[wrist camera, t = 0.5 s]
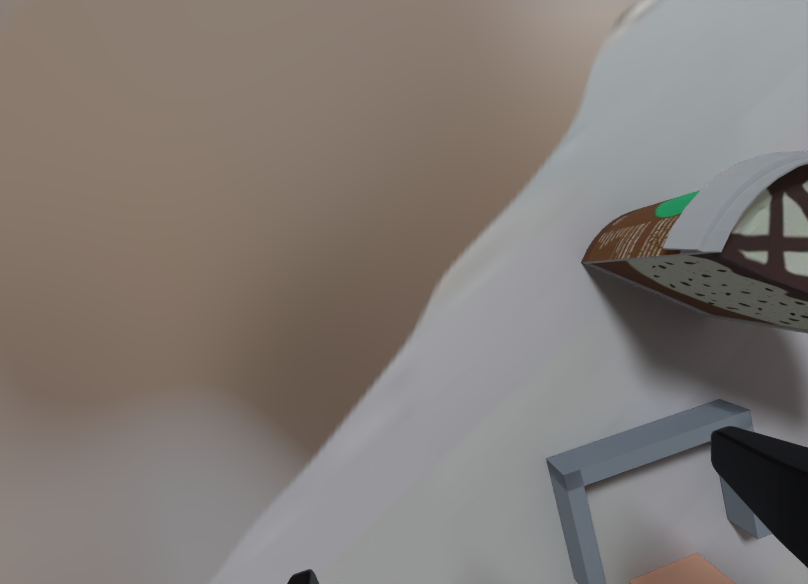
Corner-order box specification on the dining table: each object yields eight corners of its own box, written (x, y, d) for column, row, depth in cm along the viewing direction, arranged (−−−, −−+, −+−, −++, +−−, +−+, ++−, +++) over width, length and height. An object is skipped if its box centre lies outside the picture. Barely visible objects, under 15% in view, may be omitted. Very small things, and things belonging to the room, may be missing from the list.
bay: (741, 514, 27) (772, 533, 25) (574, 578, 26) (593, 604, 24) (719, 399, 27) (749, 410, 25) (546, 458, 25) (563, 475, 23)
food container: (764, 233, 26) (1018, 214, 16) (728, 325, 26) (960, 361, 17) (597, 153, 24) (771, 78, 14) (559, 253, 24) (707, 245, 15)
